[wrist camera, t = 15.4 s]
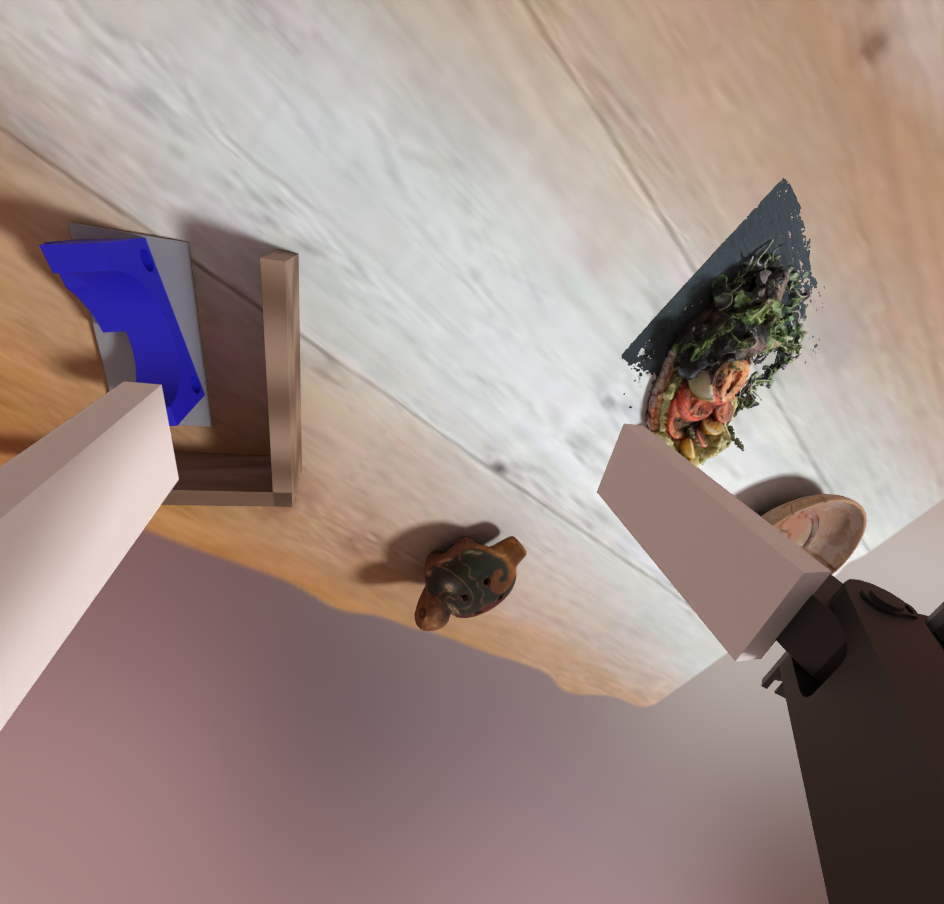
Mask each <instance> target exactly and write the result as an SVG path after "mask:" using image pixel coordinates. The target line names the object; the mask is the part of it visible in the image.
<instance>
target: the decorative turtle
mask: <svg viewBox="0 0 944 904" xmlns="http://www.w3.org/2000/svg"><path fill="white" fill-rule="evenodd" d="M525 556H526V550H525V548H524V547H523V546H522V545H521V543H520V542H519V541H518V540H517V539H516V538H515V537H513V536H511V537H508V538H506V539H504V540H502V541H500V542H498V543H497V544H495V545H493V546H490V547H488V546H485V545H480V544H477V543H475V542H474V541H473V540H472V539H471V538H469V537H462V538H460V539H459V540H458V541H457V542H456V543H455V544H454V545H453V546H452V547H451V548H450V549H449V550H448V551H447V552H445V553H444V554H442V553H439V552H433V553H431V554H430V555H429V556H428V558H427V562H426V568H425V588H424V590H423V592H422V594H421V596H420V598H419V601H418V604H417V607H416V611H415V621H416V624H417V626H418V627H419V628H420V629H421V630H424V631H434V630H438V629H440V628H442V627H444V626H445V625H446V624H447V622H448V621H449V617H450V614H452V615H454V616H456V617H459V618H469V617H474V616H478V615H481V614H483V613H485V612H487V611H489V610H491V609H492V608H494V607H495V606H497V605H498V604H499V603H501V602H502V601H503V600H504V599H505V598H506V597H507V596H508V594H509V593H510V592H511V590H512V589H513V586H514V584H515V580H516V567H517V565H518V564H519V563H520V561H521V560H522V559H523V558H524V557H525Z"/></svg>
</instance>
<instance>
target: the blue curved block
mask: <svg viewBox="0 0 944 904" xmlns="http://www.w3.org/2000/svg"><path fill="white" fill-rule="evenodd" d="M39 246H40V248H41V250H42V252H43V254H44V256H45V258H46V260H47V262H48V264H49V266H50V268H51V270H52V272H53V273H59V274H60V276H61V278H62V280H63V282H64V284H65V286H66V288H68V289H69V290H70V291H71V292H72V293H74V294H75V295H76V296H77V297H78V298H79V299H80V300H81V301H82V302H83V303H84V305H85V306H86V307H87V308H88V309H89V311H90V312H91V314H92V315H93V316H94V318H95V320H96V321H97V323H98V325H99V326H100V328H101V330H102V332H103V333H106V332H122V331H126V333H127V335H128V338H129V341H130V343H131V347H132V350H133V354H134V359H135V366H136V383H148V384H160V385H162V390H163V395H164V401H165V406H166V412H167V417H168V423H169V426H177V425H179V423H180V422H181V421H182V420H183V419H184V418H185V417H186V416H187V415H188V413H189V412H190V411H191V410H192V409H193V408H194V407H195V406H196V404H197V403H198V402H199V401H200V400H201V399H202V398H203V397H204V396H205V393H204V390H203V388H202V385H201V383H200V380H199V377H198V375H197V372H196V369H195V367H194V364H193V362H192V359H191V356H190V354H189V351H188V348H187V346H186V343H185V340H184V338H183V335H182V333H181V330H180V327H179V325H178V322H177V319H176V317H175V314H174V312H173V309H172V306H171V304H170V301H169V298H168V296H167V293H166V291H165V288H164V285H163V283H162V280H161V277H160V275H159V272H158V269H157V267H156V264H155V262H154V259H153V256H152V254H151V251H150V248H149V246H148V243H147V241H146V238H120V239H86V240H66V241H55V242H45V243H44V244H43V245H39Z"/></svg>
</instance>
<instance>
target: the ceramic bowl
mask: <svg viewBox="0 0 944 904" xmlns="http://www.w3.org/2000/svg"><path fill="white" fill-rule="evenodd" d="M761 517H762V518H763V519H764V520H766V521H767V522H768V523H770V524H771V525H772V526H774V527H775V528H776V529H777V530H779V531H780V532H781V533H783V534H784V535H785V536H786V537H788V538H789V539H790V540H792V541H793V542H794V543H795V544H797V545H798V546H799V547H801V548H802V549H803V550H804V551H806V552H807V553H808V554H810V555H811V556H812V557H814V558H815V559H816V560H817V561H819V562H820V563H821V564H823V565H824V566H825V567H826V568H828V569H829V570H830V571H832V572H831V573H830V574H831V575H832V574H834V573H835V572H836V571H837V570H838V569H839V568H840V567H841V566H842V565H843V564H844V563H845V562H846V561H847V560H848V558H849V557H850V556H851V555H852V554H853V552H854V551H855V549H856V548H857V546H858V544H859V543H860V541H861V539H862V536H863V534H864V531H865V528H866V512H865V510H864V509H863V507H862V506H861V505H860V504H859V503H857V502H855V501H853V500H852V499H849V498H847V497H844V496H840V495H831V494H818V495H811V496H806V497H802V498H799V499H795V500H792V501H789V502H787V503H784V504H782V505H780V506H777V507H775V508H773V509H772V510H770V511H768V512H766V513H765V514H763V515H762V516H761Z"/></svg>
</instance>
